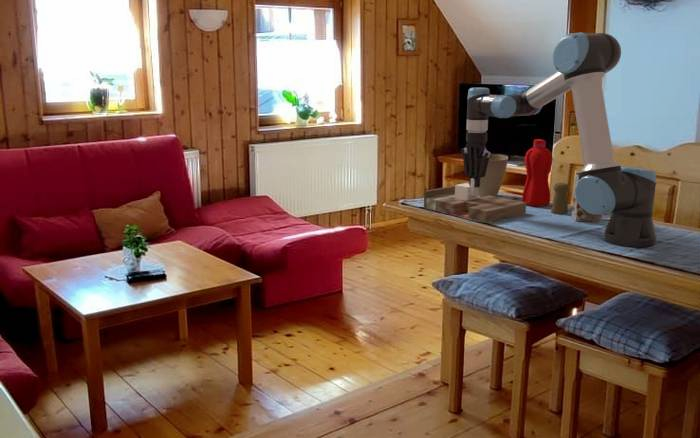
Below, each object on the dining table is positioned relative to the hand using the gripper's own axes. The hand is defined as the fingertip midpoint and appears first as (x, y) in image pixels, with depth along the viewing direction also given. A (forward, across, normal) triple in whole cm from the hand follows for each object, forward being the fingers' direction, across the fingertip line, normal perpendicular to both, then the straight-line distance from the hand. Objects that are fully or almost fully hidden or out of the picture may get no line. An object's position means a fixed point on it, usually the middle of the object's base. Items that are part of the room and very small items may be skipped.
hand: (474, 195), depth 261 cm
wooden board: (+6, 0, 0) cm, 6 cm away
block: (+2, +4, 0) cm, 4 cm away
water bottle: (+6, -8, -27) cm, 29 cm away
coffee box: (+6, -34, -20) cm, 40 cm away
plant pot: (+6, +14, -25) cm, 29 cm away
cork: (+6, -22, -22) cm, 32 cm away
